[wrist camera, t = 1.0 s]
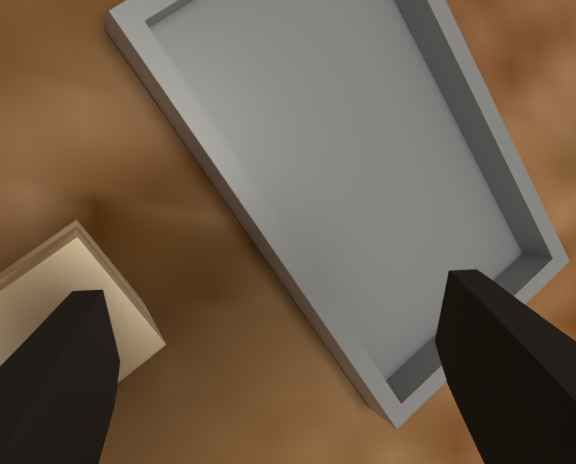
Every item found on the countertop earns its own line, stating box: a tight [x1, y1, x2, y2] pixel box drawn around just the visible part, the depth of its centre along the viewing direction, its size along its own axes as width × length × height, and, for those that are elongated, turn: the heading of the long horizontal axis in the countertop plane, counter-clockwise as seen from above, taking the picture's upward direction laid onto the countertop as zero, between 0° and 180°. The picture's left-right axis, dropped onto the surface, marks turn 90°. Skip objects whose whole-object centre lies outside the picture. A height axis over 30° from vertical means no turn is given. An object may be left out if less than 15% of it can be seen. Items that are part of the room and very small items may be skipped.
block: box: [0, 219, 166, 383], centre depth 17 cm, size 4×4×6 cm
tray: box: [105, 0, 569, 429], centre depth 23 cm, size 12×20×2 cm, turn 35°
